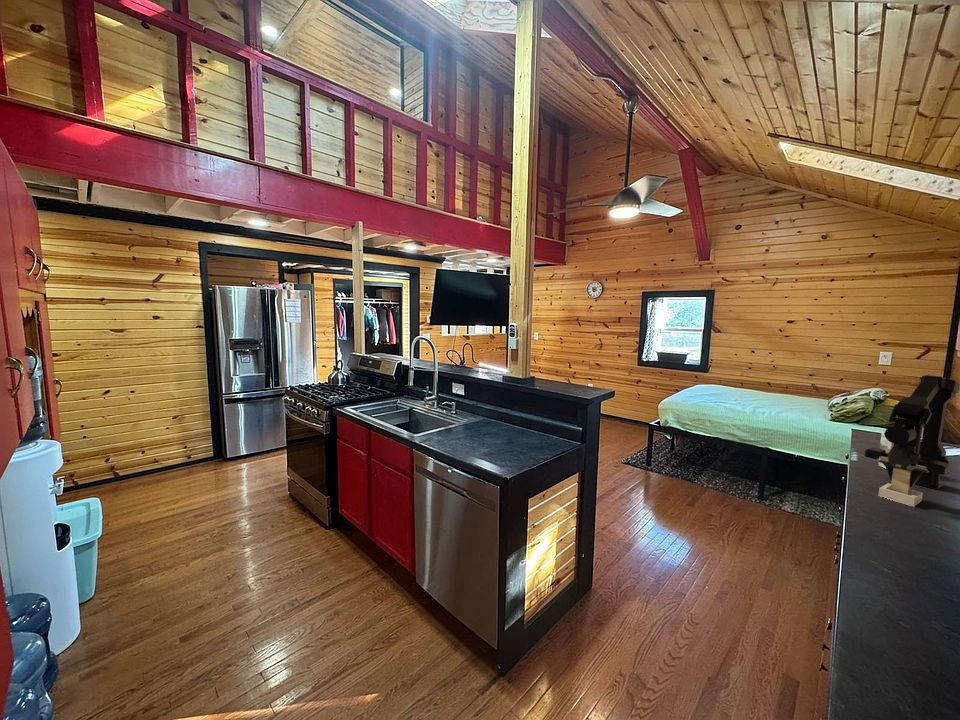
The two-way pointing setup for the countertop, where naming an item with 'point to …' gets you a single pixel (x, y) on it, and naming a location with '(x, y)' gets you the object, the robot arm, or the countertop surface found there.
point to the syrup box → (885, 448)
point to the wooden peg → (901, 480)
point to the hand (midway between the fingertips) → (901, 484)
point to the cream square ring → (900, 495)
